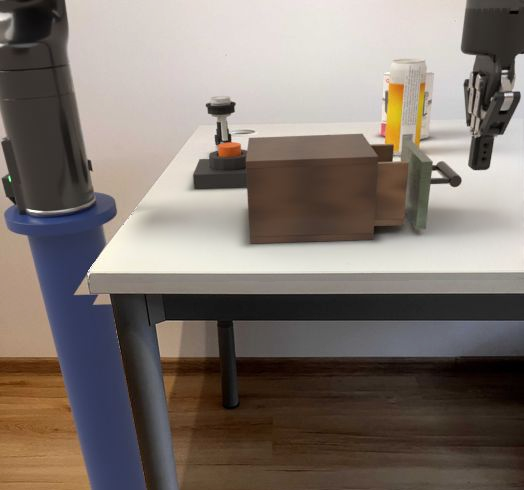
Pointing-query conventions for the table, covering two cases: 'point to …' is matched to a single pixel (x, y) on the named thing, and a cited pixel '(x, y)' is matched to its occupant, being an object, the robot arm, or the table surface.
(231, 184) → the control box
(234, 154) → the button
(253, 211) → the cabinet
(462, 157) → the table surface
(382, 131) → the ink box
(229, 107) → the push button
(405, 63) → the beer can
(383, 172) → the drawer
